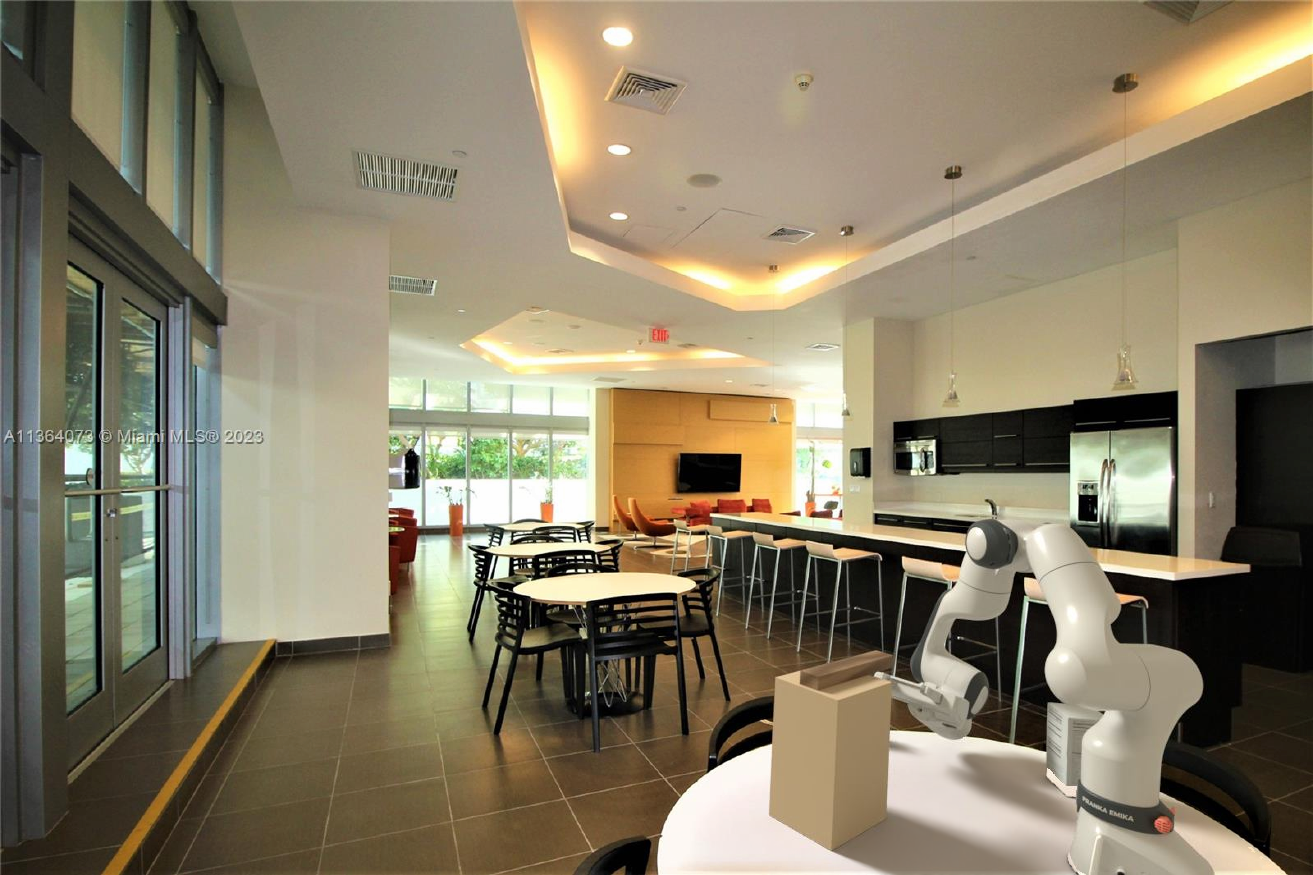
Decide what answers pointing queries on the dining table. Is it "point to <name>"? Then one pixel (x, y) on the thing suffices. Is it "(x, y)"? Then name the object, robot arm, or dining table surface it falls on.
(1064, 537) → the robot arm
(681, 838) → the dining table surface
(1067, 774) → the supplement box
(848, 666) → the slat
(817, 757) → the carton
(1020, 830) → the dining table surface
